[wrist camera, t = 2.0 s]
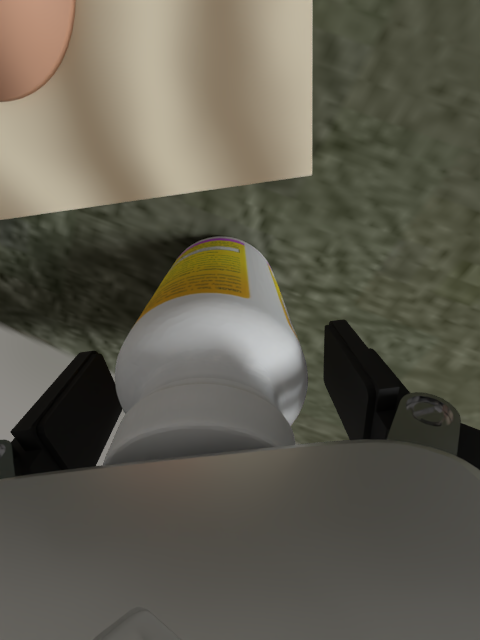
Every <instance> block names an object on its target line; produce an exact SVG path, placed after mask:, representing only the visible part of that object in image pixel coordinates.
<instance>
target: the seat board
mask: <svg viewBox="0 0 480 640" xmlns="http://www.w3.org/2000/svg"><path fill="white" fill-rule="evenodd" d="M310 175H312V0H0V220H3V219H10V218H17V217H24V216H31V215H38V214H45V213H52V212H59V211H66V210H73V209H80V208H87V207H94V206H101V205H108V204H115V203H122V202H129V201H136V200H143V199H149V198H156V197H163V196H170V195H177V194H184V193H191V192H198V191H205V190H212V189H219V188H226V187H233V186H240V185H247V184H254V183H261V182H268V181H275V180H282V179H289V178H296V177H303V176H310Z"/></svg>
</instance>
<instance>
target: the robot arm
mask: <svg viewBox="0 0 480 640" xmlns="http://www.w3.org/2000/svg"><path fill="white" fill-rule="evenodd" d="M324 383H325V386H326V388H327V390H328V392H329V395H330V397H331V399H332V401H333V403H334V406H335V408H336V410H337V412H338V414H339V417H340V419H341V421H342V423H343V425H344V428H345V430H346V432H347V434H348V436H349V439H350V440H343V441H330V442H319V443H308V444H297V445H287V446H277V447H268V448H258V449H248V450H239V451H229V452H220V453H210V454H201V455H192V456H183V457H174V458H165V459H156V460H147V461H138V462H129V463H120V464H112V465H103V466H96V464H97V462H98V460H99V457H100V456H101V453H102V451H103V449H104V447H105V445H106V443H107V441H108V439H109V436H110V434H111V432H112V430H113V428H114V426H115V424H116V422H117V420H118V417H119V415H120V413H121V411H122V406H121V404H120V401H119V399H118V396H117V391H116V385H115V382H114V380H113V378H112V376H111V373H110V371H109V369H108V367H107V365H106V362H105V360H104V358H103V356H102V355H101V354H98V352H96V351H88V352H81V353H79V354H78V355H77V356H76V357H75V358H74V360H73V361H72V362H71V363H70V364H69V365H68V367H67V368H66V369H65V370H64V371H63V372H62V373H61V374H60V376H59V377H58V378H57V379H56V380H55V382H53V384H52V385H51V386H50V387H49V388H48V389H47V391H46V392H45V393H44V394H43V395H42V396H41V397H40V399H39V400H38V401H37V402H36V403H35V404H34V405H33V406H32V408H31V409H30V410H29V411H28V412H27V413H26V414H25V416H24V417H23V418H22V419H21V420H20V421H19V422H18V424H17V425H16V426H15V427H14V428H13V429H12V431H11V433H12V435H13V436H14V437H15V438H14V439H13V441H12V442H9V441H7V440H0V640H480V430H478V429H475V428H472V427H470V426H467V425H465V424H462V423H461V419H460V415H459V413H458V411H457V410H456V408H454V407H453V406H452V405H451V404H450V403H449V402H447V401H445V400H444V399H442V398H440V397H437V396H435V395H432V394H427V393H419V392H415V393H410V392H409V391H408V390H407V389H406V387H405V386H404V385H403V384H402V383H401V381H400V380H399V379H398V378H397V377H396V375H395V374H394V373H393V372H392V371H391V369H390V368H389V367H388V366H387V365H386V363H385V362H384V361H383V360H382V359H381V357H380V356H379V355H378V354H377V353H376V352H375V351H374V350H373V349H371V348H370V349H368V347H367V346H366V345H365V344H364V342H363V341H362V340H361V339H360V337H359V336H358V335H357V334H356V332H355V331H354V330H353V329H352V328H351V326H350V325H349V324H348V323H347V321H346V320H336V321H330V323H329V325H326V326H325V338H324Z"/></svg>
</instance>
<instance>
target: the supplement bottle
mask: <svg viewBox="0 0 480 640" xmlns="http://www.w3.org/2000/svg"><path fill="white" fill-rule="evenodd" d="M115 385H116V391H117V396H118V399H119V401H120V404H121V406H122V409H123V411H124V412H125V416H124V418H123V419H122V421H121V423H120V425H119V427H118V430H117V432H116V434H115V437H114V439H113V441H112V443H111V446H110V448H109V451H108V453H107V455H106V457H105V460H104V463H103V465H112V464H120V463H129V462H138V461H147V460H156V459H165V458H174V457H183V456H192V455H201V454H210V453H220V452H229V451H239V450H248V449H258V448H268V447H277V446H287V445H295V439H294V434H293V431H292V429H291V425H292V423H293V422H294V421H295V419H296V418H297V417H298V414H299V412H300V410H301V408H302V406H303V403H304V400H305V397H306V392H307V386H308V374H307V365H306V361H305V357H304V354H303V351H302V348H301V346H300V343H299V340H298V338H297V335H296V333H295V330H294V328H293V325H292V322H291V320H290V317H289V314H288V312H287V309H286V306H285V304H284V301H283V298H282V296H281V293H280V290H279V287H278V285H277V282H276V279H275V277H274V274H273V272H272V269H271V267H270V265H269V264H268V262H267V260H266V259H265V258H264V256H263V255H262V254H261V253H260V252H259V251H258V250H257V249H256V248H254V247H253V246H251V245H250V244H248V243H246V242H244V241H242V240H239V239H236V238H232V237H222V236H218V237H210V238H206V239H203V240H200V241H198V242H196V243H194V244H192V245H191V246H189V247H188V248H187V249H186V250H185V251H183V252H182V254H181V255H180V256H179V257H178V258H177V260H176V261H175V263H174V264H173V266H172V267H171V269H170V270H169V272H168V273H167V275H166V276H165V278H164V279H163V281H162V282H161V284H160V286H159V287H158V289H157V290H156V292H155V293H154V295H153V297H152V298H151V300H150V301H149V303H148V304H147V306H146V307H145V309H144V311H143V312H142V314H141V315H140V317H139V318H138V320H137V321H136V323H135V324H134V326H133V327H132V329H131V331H130V332H129V334H128V336H127V338H126V339H125V341H124V343H123V345H122V347H121V349H120V352H119V355H118V358H117V362H116V368H115Z"/></svg>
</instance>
